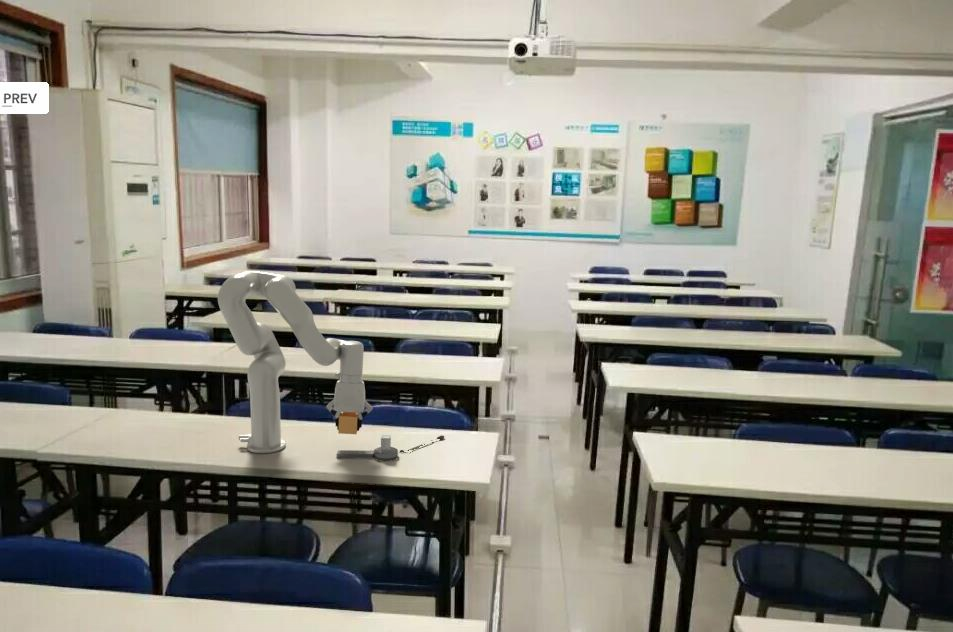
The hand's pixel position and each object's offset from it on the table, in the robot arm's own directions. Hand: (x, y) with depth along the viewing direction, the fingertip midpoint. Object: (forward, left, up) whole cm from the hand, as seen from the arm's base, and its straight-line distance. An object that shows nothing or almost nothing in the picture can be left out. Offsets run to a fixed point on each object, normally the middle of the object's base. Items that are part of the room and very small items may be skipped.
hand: (348, 428), depth 227 cm
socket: (0, 0, -1) cm, 1 cm away
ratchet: (+7, -7, -7) cm, 12 cm away
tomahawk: (+27, +2, -8) cm, 28 cm away
